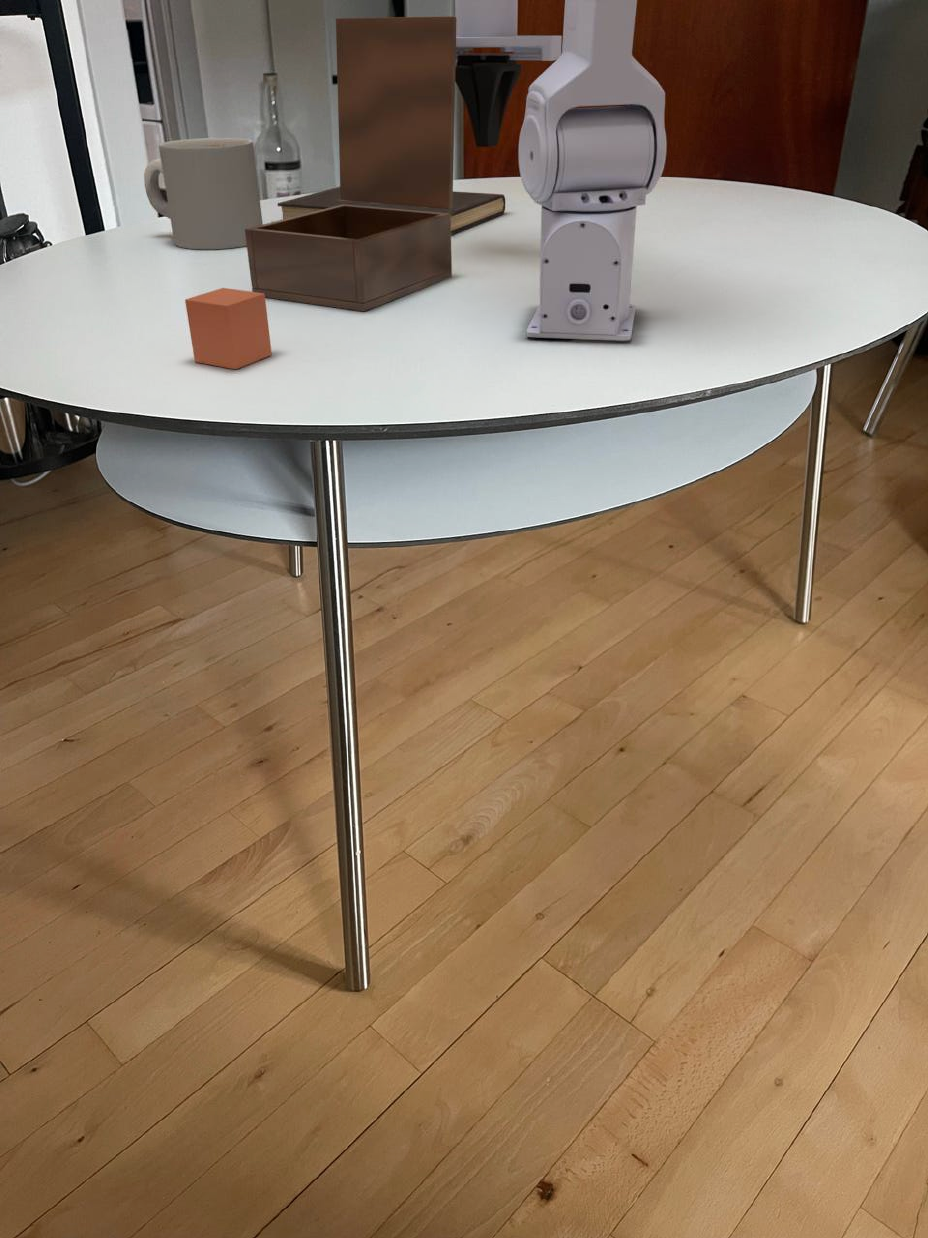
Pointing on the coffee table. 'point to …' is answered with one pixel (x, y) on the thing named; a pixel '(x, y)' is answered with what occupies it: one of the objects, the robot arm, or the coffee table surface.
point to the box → (350, 255)
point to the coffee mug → (206, 191)
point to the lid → (396, 109)
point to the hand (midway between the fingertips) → (486, 145)
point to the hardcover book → (463, 213)
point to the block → (229, 327)
